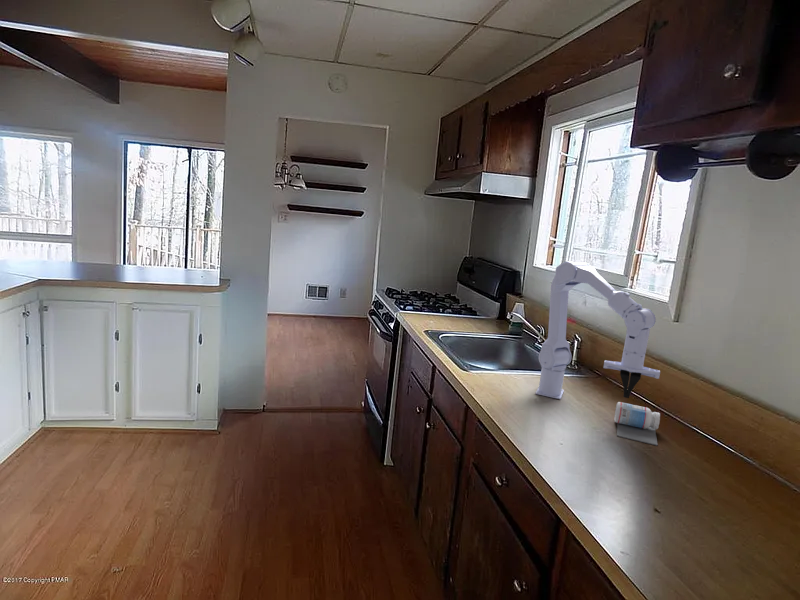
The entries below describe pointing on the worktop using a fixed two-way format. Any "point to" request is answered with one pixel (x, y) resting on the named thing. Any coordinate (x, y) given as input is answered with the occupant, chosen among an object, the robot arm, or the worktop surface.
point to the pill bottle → (636, 416)
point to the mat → (637, 434)
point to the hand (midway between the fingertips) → (626, 396)
